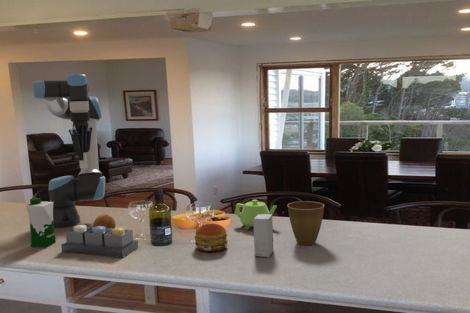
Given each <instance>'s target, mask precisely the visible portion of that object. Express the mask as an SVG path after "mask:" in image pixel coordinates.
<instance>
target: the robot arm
mask: <svg viewBox="0 0 470 313" xmlns="http://www.w3.org/2000/svg"><path fill="white" fill-rule="evenodd" d="M32 91H33V92H32V93H33V96H34V98H35V99H37V100H38V99H40V100H44V101H45V103H46V105H47V109H48V111H49V112H50V114H52V115H53V116H54V117H57V118H60V119H63V120H67V121H68V120H69V121H70V122H72V128H70V129H68V132H69V134H70V138H71V142H72V145H73V150H74V152H75V153H77V154H78V161H79V169H80V172H79V173H78V174H77V176H78V177H77V178H75V177H74V176H73V175H64V176H59V177H55V178H53V179H50V180H49V182H48V195H49V202H53V222H54V228H65V227H70V226H74V225H75V226H76V225H77V224H78V225H79V223H80V222H81V216H80V214H79V212H78V209H77V207H76V203H77V202H86V201H87V202H88V201H98V200H102V199H104V198H105V190H106V177H105V176H104V175H103V172H101V171H100V167H99V151H98V150H99V149H98V135H97V133H98V131H97V125H98V124H99V123H100V120H101V119H102V118H103V117H102V111H101V106H100V101H99V98H97V97H96V96H89V91H90V88H89V85H88V80H87V75H86V74H83V73H71V74H68V75H67V80H63V79H62V80H42V79H41V80H35V81H34V82H33V84H32Z"/></svg>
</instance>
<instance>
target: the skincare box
mask: <svg viewBox="0 0 470 313" xmlns="http://www.w3.org/2000/svg"><path fill="white" fill-rule="evenodd" d="M253 225H254V227H253V250H254V256H255V257H263V258H270V256H271V255H272V253H273V252H274V226H273V225H274V224H273V215H272V214H258V215H257V216H256V217H255V218H254V219H253Z"/></svg>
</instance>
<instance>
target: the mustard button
mask: <svg viewBox="0 0 470 313" xmlns="http://www.w3.org/2000/svg"><path fill="white" fill-rule="evenodd" d="M125 229H126V228H125V227H115V228H114V229H112V234H114V235H122V234H124V233H125Z"/></svg>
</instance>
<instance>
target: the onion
mask: <svg viewBox="0 0 470 313" xmlns="http://www.w3.org/2000/svg"><path fill="white" fill-rule="evenodd" d="M97 226H104V227H105V228H113V229H114V228H116V227H117V226H116V221H115V219H114V217H113V216H111V215H110V214H109V213H104V212H103V213H101V214H99V215H98V216H97V217H96V218H95V219H94V221H93V224H92V227H97Z"/></svg>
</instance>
